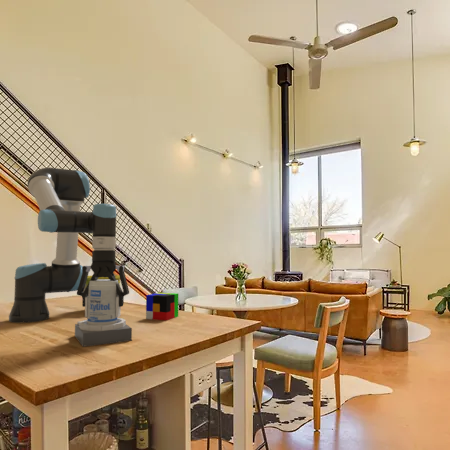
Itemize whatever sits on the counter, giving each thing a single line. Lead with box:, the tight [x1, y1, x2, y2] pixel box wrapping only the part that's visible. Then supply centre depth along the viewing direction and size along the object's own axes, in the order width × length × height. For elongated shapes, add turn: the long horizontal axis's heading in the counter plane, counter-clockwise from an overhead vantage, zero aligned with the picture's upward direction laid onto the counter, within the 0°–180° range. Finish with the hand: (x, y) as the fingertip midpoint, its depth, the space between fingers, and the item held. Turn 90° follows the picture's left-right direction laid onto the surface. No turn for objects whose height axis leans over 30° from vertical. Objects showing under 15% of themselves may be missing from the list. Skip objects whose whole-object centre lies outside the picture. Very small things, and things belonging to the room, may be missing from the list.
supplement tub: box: [86, 279, 118, 325], centre depth 125 cm, size 10×10×15 cm
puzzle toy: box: [145, 292, 179, 321], centre depth 162 cm, size 10×10×10 cm
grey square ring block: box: [74, 317, 133, 348], centre depth 125 cm, size 16×15×6 cm
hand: (102, 316), depth 125 cm, fingers closed on supplement tub, 10 cm apart
